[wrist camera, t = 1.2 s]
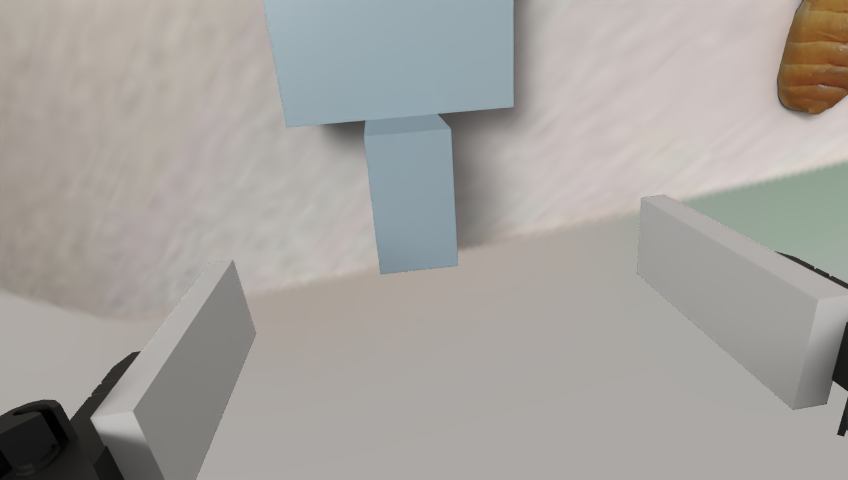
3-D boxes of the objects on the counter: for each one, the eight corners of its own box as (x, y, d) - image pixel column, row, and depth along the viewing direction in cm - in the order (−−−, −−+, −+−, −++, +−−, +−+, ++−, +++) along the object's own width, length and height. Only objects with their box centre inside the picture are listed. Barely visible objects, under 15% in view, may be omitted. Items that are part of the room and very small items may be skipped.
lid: (310, 238, 29) (295, 283, 24) (218, -269, 20) (159, -386, 15) (509, 217, 30) (539, 256, 25) (507, -280, 21) (554, -396, 16)
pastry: (824, 119, 35) (873, 128, 32) (747, 98, 34) (789, 104, 31) (898, -19, 32) (961, -27, 29) (815, -47, 31) (871, -59, 27)
